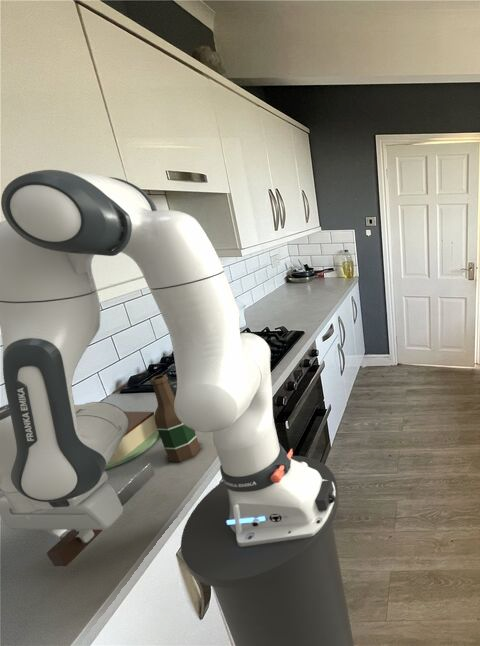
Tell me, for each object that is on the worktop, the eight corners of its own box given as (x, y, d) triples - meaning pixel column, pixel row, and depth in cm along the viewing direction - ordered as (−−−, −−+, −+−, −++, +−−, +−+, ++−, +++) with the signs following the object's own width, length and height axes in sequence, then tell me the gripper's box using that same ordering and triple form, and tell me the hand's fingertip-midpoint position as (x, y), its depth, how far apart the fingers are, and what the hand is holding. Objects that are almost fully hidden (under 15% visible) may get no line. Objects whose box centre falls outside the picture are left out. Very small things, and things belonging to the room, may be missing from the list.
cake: (175, 424, 108) (169, 405, 105) (118, 474, 89) (108, 452, 87) (115, 423, 109) (107, 405, 107) (46, 472, 91) (34, 450, 88)
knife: (158, 474, 84) (154, 463, 83) (66, 566, 64) (58, 553, 63) (149, 474, 84) (144, 463, 83) (54, 566, 64) (45, 553, 63)
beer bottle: (204, 440, 101) (181, 367, 92) (196, 459, 94) (170, 381, 85) (173, 447, 98) (146, 372, 90) (163, 466, 92) (132, 387, 83)
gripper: (-31, 499, 60) (9, 554, 65) (81, 499, 58) (112, 555, 63) (12, 471, 66) (45, 524, 71) (114, 471, 64) (140, 524, 69)
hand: (78, 539), depth 67 cm, fingers closed on knife, 2 cm apart
